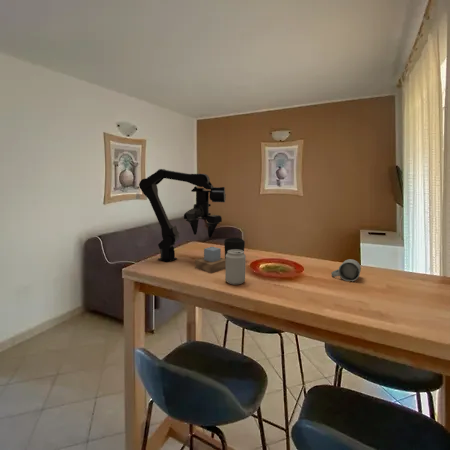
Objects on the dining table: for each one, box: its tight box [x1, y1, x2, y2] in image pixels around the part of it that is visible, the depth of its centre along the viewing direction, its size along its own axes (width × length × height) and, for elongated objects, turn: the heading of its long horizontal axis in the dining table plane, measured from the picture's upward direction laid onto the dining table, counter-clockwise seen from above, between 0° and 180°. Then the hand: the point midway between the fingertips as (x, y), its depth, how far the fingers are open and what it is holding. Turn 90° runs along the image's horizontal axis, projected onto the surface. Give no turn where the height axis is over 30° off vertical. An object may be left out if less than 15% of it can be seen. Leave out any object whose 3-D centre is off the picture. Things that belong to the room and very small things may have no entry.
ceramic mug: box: [331, 258, 362, 282], centre depth 120 cm, size 11×8×8 cm
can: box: [224, 249, 247, 286], centre depth 114 cm, size 8×8×12 cm
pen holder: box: [223, 237, 246, 259], centre depth 142 cm, size 9×9×10 cm
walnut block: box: [194, 257, 226, 274], centre depth 131 cm, size 10×10×4 cm
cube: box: [203, 246, 222, 262], centre depth 130 cm, size 5×5×5 cm
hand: (202, 236), depth 139 cm, fingers open, 9 cm apart
